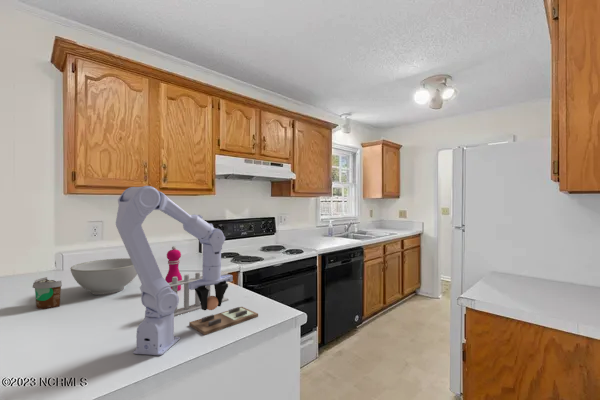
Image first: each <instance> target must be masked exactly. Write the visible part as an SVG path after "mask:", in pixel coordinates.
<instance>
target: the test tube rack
mask: <svg viewBox="0 0 600 400" xmlns="http://www.w3.org/2000/svg"><path fill="white" fill-rule="evenodd" d="M194 275H195V277H193V278H190V274H188V273H187V274H184V276H183V279H182V280H181V281H178V278H177V277H172V278H173V279H172V282H171V283H168V284H169V285H170V287H172V290H173V291H174V292H176V293H177V294H178V291H177V286H178V285H181V286H182V285H183V307H180V308H178V306H177V307H176V309H175V310H174V318H175V317H178V315H179V316H181V314H182V315H185V314H187V313H188V312H189V313H191V312H195V311H198V310H203V309H202V308H201V303H200V300H199V297H198V295H197V293H196V291H195V290H194V303H195V304H191V305H190V289H188V287H189V282H193V281H196V280H199V279H202V275H201V272H199V271H197V272H195V274H194ZM223 275H229V273H228V272H225V271H221V276H223ZM206 289H208V290H209V292H208V297H209V296H211V285H209V286H206ZM229 300H230V299H229V298H228V297H225V295H224V296H223V299H222V303H225V302H228V301H229Z"/></svg>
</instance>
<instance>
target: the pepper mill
mask: <svg viewBox="0 0 600 400" xmlns="http://www.w3.org/2000/svg"><path fill="white" fill-rule="evenodd" d="M181 256H182V253H181V251H180V250H178V249H177V247H176V246H175V245H172V247H171V249H170V250H168V251H167V252H166V258H167V259H168V260H167V264H168V271H167V273H166V276H165V278H164V279H165V280H166V281H167V283H171V282H172V279H173V278H172V277H177V278H178V281H181V280H183V277H182V274H181V272H180V270H179V264H180V261H181V260H180V258H181ZM171 289H172V287H171ZM181 290H182V285H178V286H177V292H179V291H181Z"/></svg>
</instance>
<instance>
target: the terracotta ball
mask: <svg viewBox="0 0 600 400" xmlns="http://www.w3.org/2000/svg"><path fill="white" fill-rule="evenodd" d="M217 307H219V306H218V299H217V297H215V295H210V296H209V297H207V310H208V311H213V310H216V309H217Z"/></svg>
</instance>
